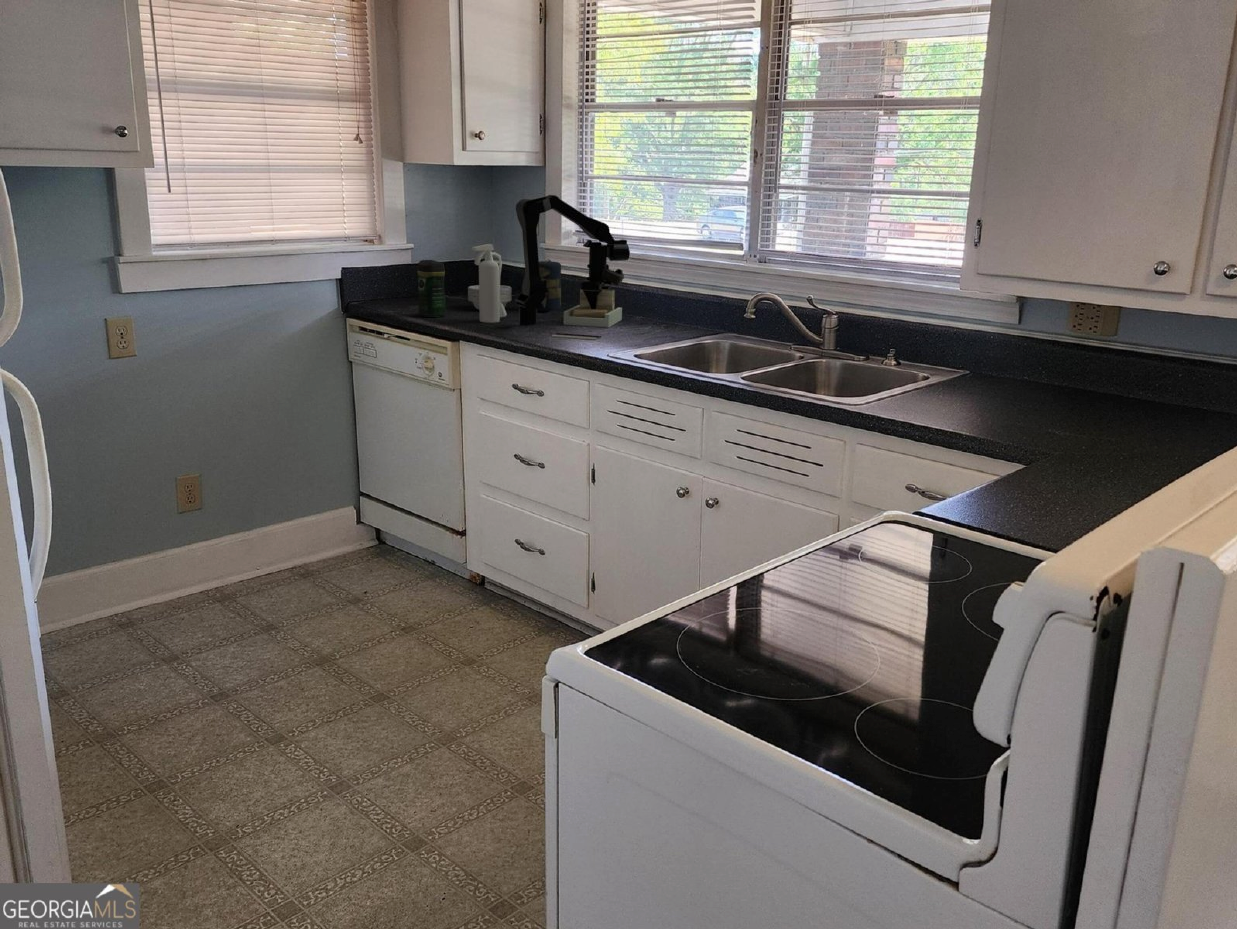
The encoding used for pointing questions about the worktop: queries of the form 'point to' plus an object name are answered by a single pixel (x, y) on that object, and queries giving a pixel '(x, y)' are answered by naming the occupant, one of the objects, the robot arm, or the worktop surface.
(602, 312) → the offcut stack
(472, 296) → the paper bowls
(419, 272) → the coffee jar
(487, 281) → the fire extinguisher
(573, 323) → the rack
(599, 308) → the tan wooden block
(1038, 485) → the worktop surface
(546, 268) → the canister
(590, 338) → the grey mat
